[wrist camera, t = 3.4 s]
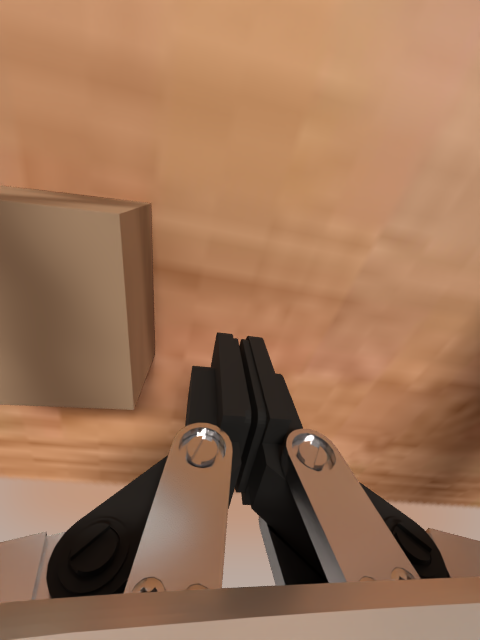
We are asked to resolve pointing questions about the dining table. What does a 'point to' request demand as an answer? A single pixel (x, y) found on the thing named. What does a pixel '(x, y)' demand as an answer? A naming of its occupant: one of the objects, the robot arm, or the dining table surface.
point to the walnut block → (74, 299)
